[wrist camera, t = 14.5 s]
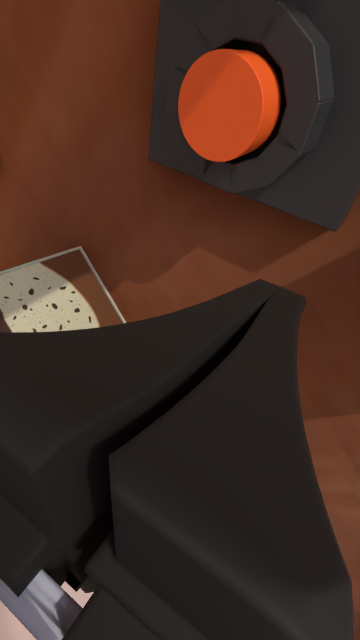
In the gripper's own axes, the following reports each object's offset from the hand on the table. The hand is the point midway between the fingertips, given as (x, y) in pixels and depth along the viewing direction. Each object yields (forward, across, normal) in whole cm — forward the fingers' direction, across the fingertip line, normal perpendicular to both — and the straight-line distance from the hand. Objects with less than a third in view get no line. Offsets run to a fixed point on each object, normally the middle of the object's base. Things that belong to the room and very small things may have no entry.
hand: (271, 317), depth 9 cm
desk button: (+7, +5, -4) cm, 10 cm away
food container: (+11, +18, +14) cm, 26 cm away
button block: (+10, +5, -4) cm, 12 cm away
